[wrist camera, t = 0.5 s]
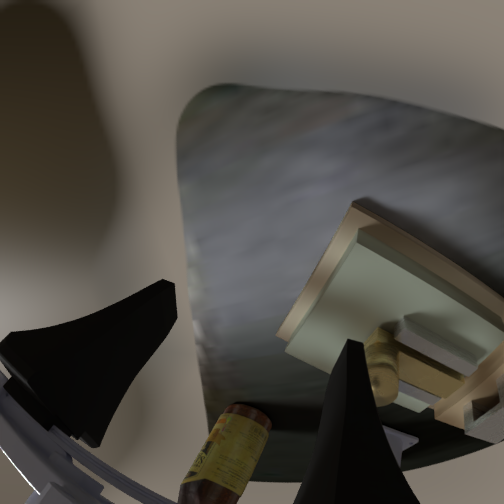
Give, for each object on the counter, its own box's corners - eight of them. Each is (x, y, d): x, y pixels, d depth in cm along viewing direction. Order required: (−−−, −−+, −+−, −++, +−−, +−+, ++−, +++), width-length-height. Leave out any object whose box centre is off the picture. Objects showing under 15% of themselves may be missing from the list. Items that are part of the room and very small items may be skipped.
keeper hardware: (498, 421, 17) (501, 445, 14) (361, 361, 19) (357, 391, 17) (536, 390, 14) (542, 415, 12) (403, 315, 16) (404, 347, 14)
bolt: (442, 388, 17) (444, 434, 14) (356, 346, 18) (347, 397, 15) (464, 369, 16) (471, 417, 12) (377, 323, 17) (372, 375, 13)
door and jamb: (484, 421, 21) (486, 443, 18) (279, 327, 24) (267, 352, 22) (565, 349, 14) (575, 372, 12) (352, 201, 18) (348, 218, 15)
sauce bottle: (225, 394, 32) (136, 534, 16) (277, 411, 30) (199, 565, 14) (226, 420, 35) (153, 540, 19) (271, 435, 33) (206, 564, 17)
